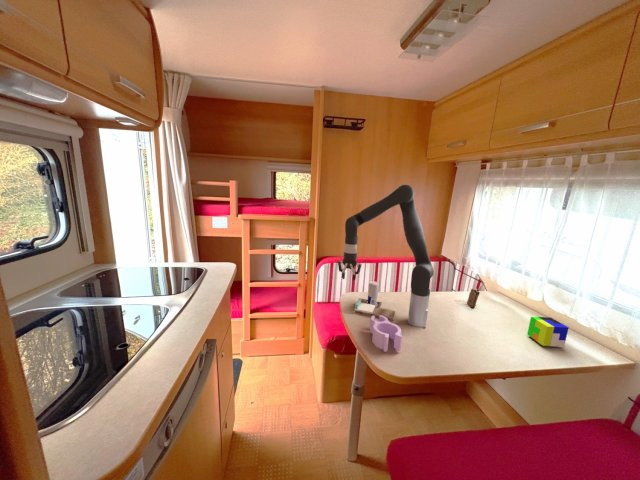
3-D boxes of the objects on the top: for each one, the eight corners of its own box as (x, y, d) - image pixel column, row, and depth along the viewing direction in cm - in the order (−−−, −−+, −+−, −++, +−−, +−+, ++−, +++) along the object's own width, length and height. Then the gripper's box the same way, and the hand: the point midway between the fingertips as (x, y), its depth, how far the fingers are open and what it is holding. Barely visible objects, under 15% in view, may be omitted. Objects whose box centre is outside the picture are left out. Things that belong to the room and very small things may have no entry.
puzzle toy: (564, 346, 126) (568, 327, 124) (542, 345, 126) (547, 326, 124) (546, 335, 135) (550, 317, 134) (527, 334, 136) (531, 316, 134)
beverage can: (377, 305, 162) (379, 281, 159) (375, 308, 157) (378, 284, 154) (368, 303, 164) (370, 280, 161) (366, 306, 159) (368, 283, 156)
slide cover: (375, 306, 156) (375, 301, 155) (372, 313, 146) (372, 308, 146) (358, 303, 159) (358, 298, 158) (354, 310, 150) (355, 304, 149)
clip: (363, 328, 134) (365, 315, 133) (386, 327, 136) (388, 314, 135) (379, 352, 115) (380, 337, 113) (405, 350, 117) (407, 336, 115)
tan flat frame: (396, 307, 160) (396, 305, 160) (393, 321, 143) (393, 318, 142) (361, 300, 168) (361, 298, 167) (354, 312, 150) (354, 310, 150)
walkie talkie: (484, 311, 161) (489, 283, 158) (463, 310, 161) (468, 282, 157) (472, 302, 174) (476, 276, 170) (452, 301, 174) (456, 275, 170)
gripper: (364, 251, 151) (361, 279, 155) (340, 248, 156) (338, 275, 160) (361, 254, 145) (359, 283, 148) (336, 251, 149) (334, 279, 153)
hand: (348, 279), depth 154 cm, fingers open, 5 cm apart
